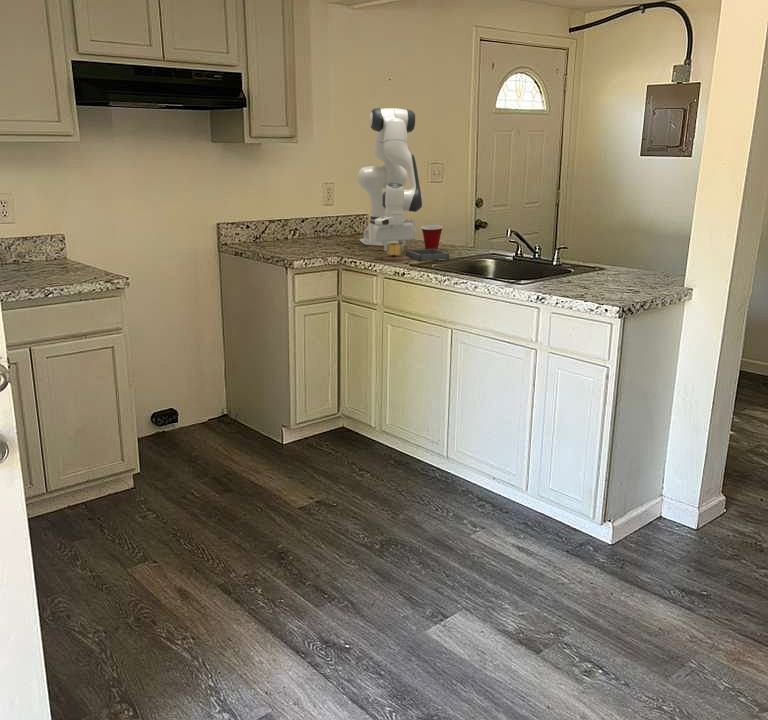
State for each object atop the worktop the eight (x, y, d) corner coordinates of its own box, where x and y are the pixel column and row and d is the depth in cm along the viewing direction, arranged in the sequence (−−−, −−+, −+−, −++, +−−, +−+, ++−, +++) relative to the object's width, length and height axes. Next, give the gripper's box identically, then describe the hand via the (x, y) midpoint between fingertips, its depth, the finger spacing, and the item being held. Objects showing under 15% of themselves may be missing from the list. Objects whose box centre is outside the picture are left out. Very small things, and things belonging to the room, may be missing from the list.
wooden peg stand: (378, 257, 352) (378, 243, 350) (399, 256, 357) (400, 242, 355) (388, 261, 343) (388, 247, 341) (410, 259, 347) (410, 246, 345)
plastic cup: (415, 250, 374) (416, 225, 371) (432, 248, 381) (433, 224, 377) (429, 253, 366) (430, 228, 362) (446, 251, 372) (447, 226, 369)
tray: (405, 256, 356) (405, 250, 355) (433, 254, 361) (434, 248, 360) (419, 261, 343) (420, 255, 342) (448, 259, 348) (449, 253, 348)
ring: (385, 253, 351) (385, 243, 349) (397, 252, 353) (397, 242, 352) (390, 255, 345) (390, 245, 344) (402, 254, 348) (402, 244, 346)
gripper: (412, 218, 351) (411, 248, 355) (371, 219, 343) (370, 250, 347) (418, 219, 346) (417, 250, 350) (376, 221, 338) (376, 252, 342)
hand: (393, 250), depth 349 cm, fingers closed on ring, 6 cm apart
